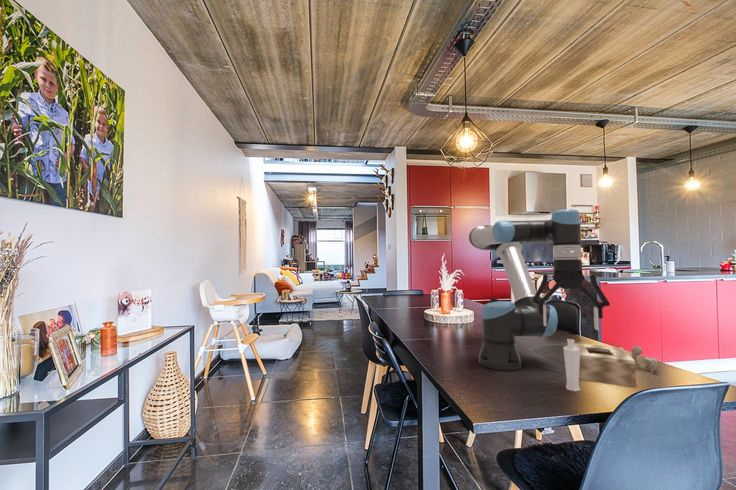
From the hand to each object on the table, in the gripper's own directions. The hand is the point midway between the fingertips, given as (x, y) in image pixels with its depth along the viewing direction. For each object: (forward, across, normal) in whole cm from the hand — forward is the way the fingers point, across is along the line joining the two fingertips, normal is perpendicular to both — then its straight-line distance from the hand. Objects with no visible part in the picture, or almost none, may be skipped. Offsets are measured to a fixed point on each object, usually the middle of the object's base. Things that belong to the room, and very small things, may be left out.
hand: (570, 327), depth 99 cm
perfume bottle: (+19, 0, 0) cm, 19 cm away
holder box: (+19, +10, +18) cm, 28 cm away
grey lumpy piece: (+19, +26, +30) cm, 44 cm away
